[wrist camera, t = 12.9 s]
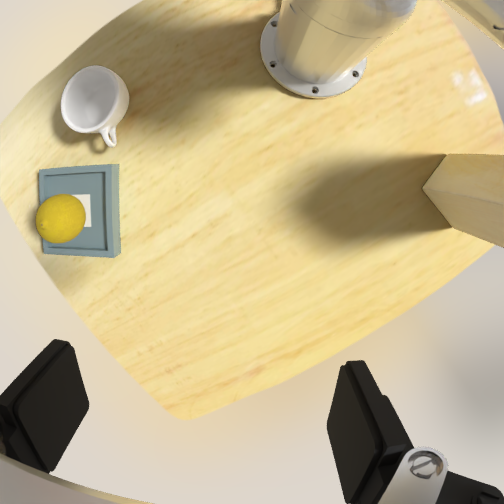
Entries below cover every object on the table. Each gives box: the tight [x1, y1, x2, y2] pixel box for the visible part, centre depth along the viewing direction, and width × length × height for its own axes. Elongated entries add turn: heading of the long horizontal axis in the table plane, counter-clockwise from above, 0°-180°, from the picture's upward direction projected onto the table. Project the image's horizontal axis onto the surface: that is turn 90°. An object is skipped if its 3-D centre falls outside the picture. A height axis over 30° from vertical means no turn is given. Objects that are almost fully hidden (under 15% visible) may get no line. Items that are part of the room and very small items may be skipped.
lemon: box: [36, 194, 86, 243], centre depth 31 cm, size 6×6×8 cm
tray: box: [39, 164, 121, 258], centre depth 35 cm, size 11×11×2 cm
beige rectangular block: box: [422, 154, 504, 248], centre depth 26 cm, size 8×7×21 cm
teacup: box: [61, 65, 129, 147], centre depth 31 cm, size 10×8×5 cm
